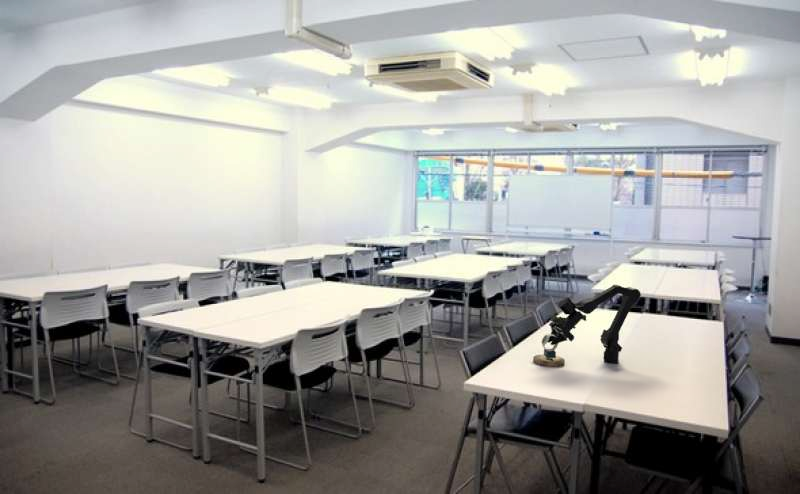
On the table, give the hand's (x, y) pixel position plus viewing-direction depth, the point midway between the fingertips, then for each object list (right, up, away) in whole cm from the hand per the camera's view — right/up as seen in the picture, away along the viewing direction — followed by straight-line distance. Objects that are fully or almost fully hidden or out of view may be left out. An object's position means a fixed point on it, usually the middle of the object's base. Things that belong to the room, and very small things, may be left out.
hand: (549, 343), depth 281 cm
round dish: (0, -10, +1) cm, 10 cm away
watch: (0, -7, +1) cm, 7 cm away
